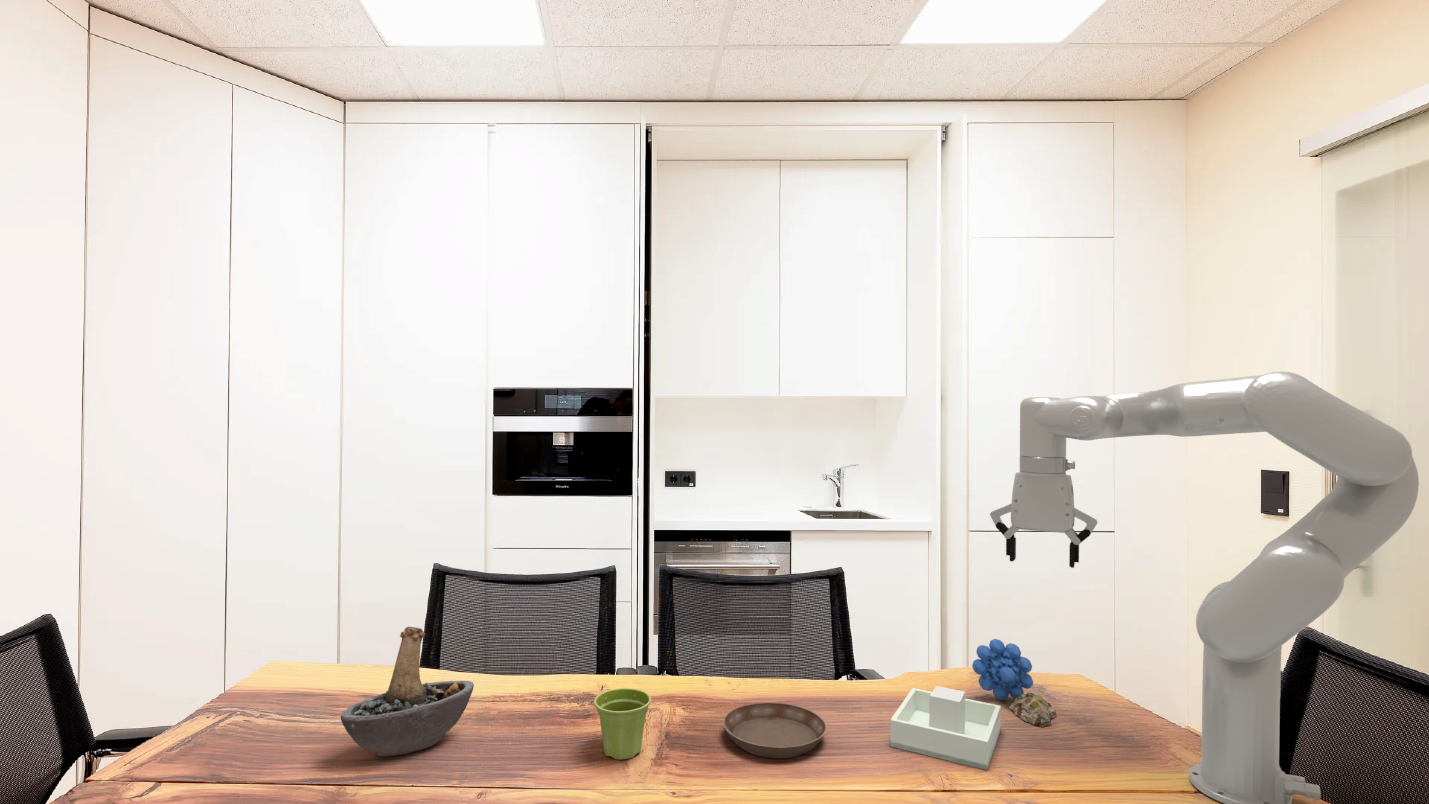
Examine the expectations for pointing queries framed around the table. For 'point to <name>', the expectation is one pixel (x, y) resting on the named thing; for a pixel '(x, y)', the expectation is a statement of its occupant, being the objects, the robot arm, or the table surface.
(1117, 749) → the table surface
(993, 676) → the blue knobby lump
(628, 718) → the plant pot
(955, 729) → the stone block
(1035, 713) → the mineral rock
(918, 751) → the sage bin
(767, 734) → the plant saucer
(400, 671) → the planter
